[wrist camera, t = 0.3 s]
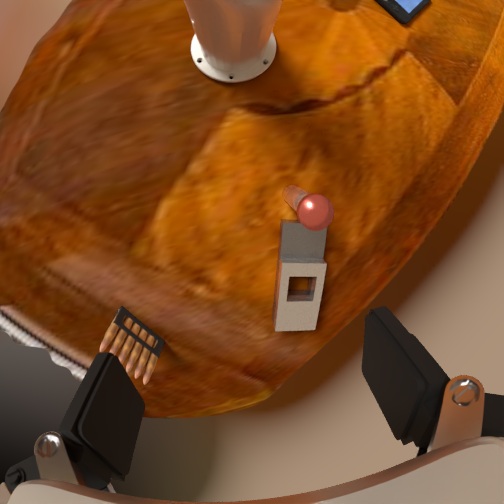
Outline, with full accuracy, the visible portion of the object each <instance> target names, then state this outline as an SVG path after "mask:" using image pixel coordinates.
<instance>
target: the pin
mask: <svg viewBox="0 0 504 504" xmlns="http://www.w3.org/2000/svg"><path fill="white" fill-rule="evenodd" d="M283 198H284V200H285V201H286V202H287V203H288V204H289V205H290V206H291V207H292V208H293V209H294V210H295V211H296V213H297V217H298V220H299V221H300V223H301V224H302V225H303V226H304V227H305V228H307V229H309V230H311V231H320V230H323V229H325V228H326V227H327V226H329V224H330V223H331V222H332V220H333V217H334V208H333V205H332V203H331V201H330V200H329V199H328V198H326V197H324V196H323V195H320V194H317V193H311V194H310V193H309V192H307V191H305V190H303V189H302V188H300V187H298V186H296V185H289V186H287V187H286V188H285V189H284V191H283Z"/></svg>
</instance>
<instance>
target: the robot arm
mask: <svg viewBox="0 0 504 504" xmlns="http://www.w3.org/2000/svg"><path fill="white" fill-rule="evenodd" d="M282 1H283V0H184V2H185V5H186V7H187V10H188V13H189V16H190V19H191V22H192V25H193V28H194V31H195V35H194V37H193V39H192V43H191V55H192V59H193V61H194V63H195V64H196V66H197V67H198V69H199V70H200V71H201V72H202V73H203V74H205V75H206V76H208V77H209V78H212V79H214V80H217V81H221V82H225V83H238V82H244V81H248V80H251V79H253V78H255V77H257V76H259V75H260V74H262V73H263V72H264V71H265V70H266V69H267V68H268V67H269V66H270V64H271V63H272V61H273V59H274V57H275V53H276V40H275V37H274V35H273V32H272V30H273V27H274V24H275V21H276V19H277V16H278V13H279V10H280V7H281V4H282ZM199 61H202V62H201V63H199ZM264 62H265V63H266V65H265V64H263V63H264ZM230 77H233V79H230ZM362 372H363V375H364V377H365V379H366V381H367V383H368V385H369V387H370V389H371V391H372V393H373V395H374V397H375V398H376V401H377V403H378V404H379V406H380V408H381V410H382V412H383V414H384V416H385V418H386V420H387V422H388V424H389V426H390V428H391V430H392V432H393V435H394V437H395V438H396V439H397V440H400V439H401V441H402V443H403V445H406V444H408V443H410V442H412V441H413V442H414V443H415V445H416V447H417V450H416V453H415V456H414V458H413V459H411V460H408V461H406V462H404V463H401V464H399V465H396V466H394V467H391V468H389V469H386V470H383V471H381V472H378V473H375V474H372V475H369V476H366V477H363V478H360V479H357V480H354V481H350V482H347V483H343V484H340V485H336V486H332V487H328V488H325V489H320V490H316V491H311V492H307V493H301V494H296V495H290V496H284V497H277V498H270V499H262V500H252V501H238V502H209V503H208V502H179V501H165V500H155V499H147V498H139V497H132V496H127V495H121V494H116V492H115V491H114V489H113V487H112V485H111V484H110V479H111V478H112V479H114V480H120V481H124V479H125V475H127V474H128V473H129V470H130V465H131V461H132V457H133V452H134V449H135V444H136V440H137V436H138V432H139V429H140V425H141V421H142V417H143V414H144V410H145V403H144V401H143V399H142V397H141V396H140V394H139V393H138V391H137V389H136V388H135V386H134V385H133V383H132V381H131V380H130V378H129V376H128V374H127V373H126V371H125V369H124V367H123V366H122V364H121V362H120V360H119V358H118V357H117V356H114V354H113V353H110V352H109V353H98V354H97V355H96V357H95V359H94V361H93V362H92V364H91V366H90V368H89V370H88V371H87V373H86V375H85V377H84V379H83V381H82V383H81V384H80V386H79V388H78V390H77V392H76V394H75V396H74V398H73V400H72V402H71V404H70V406H69V408H68V410H67V412H66V414H65V416H64V418H63V421H62V423H61V425H60V427H59V430H60V431H61V432H62V434H61V436H60V435H59V434H58V433H55V432H48V433H45V434H43V435H42V436H41V437H40V438H39V439H38V440H37V442H36V443H35V447H34V451H35V455H34V456H32V457H30V458H28V459H26V460H24V461H22V462H20V463H18V464H16V465H14V466H12V467H11V468H10V469H9V470H8V471H7V474H6V478H5V482H6V484H5V483H4V482H3V483H2V484H1V485H0V504H504V395H496V394H490V393H484V388H483V386H482V384H481V383H480V381H479V380H477V379H476V378H474V377H471V376H467V375H463V376H462V375H461V376H457V377H455V378H453V379H452V380H451V379H450V378H449V377H448V376H447V374H446V373H445V372H444V371H443V369H442V368H441V367H440V366H439V364H438V363H437V362H436V361H435V360H434V358H433V357H432V356H431V355H430V354H429V352H428V351H427V350H426V349H425V347H424V346H423V345H422V344H421V343H420V342H419V340H418V339H417V338H416V337H415V336H414V335H413V334H410V333H409V332H408V331H407V330H406V328H405V327H404V326H403V325H402V324H401V323H400V321H399V320H398V319H397V318H396V317H395V316H394V315H393V313H392V312H391V311H390V310H389V309H388V308H387V307H386V306H382V307H378V308H375V309H371V310H370V312H369V314H368V315H366V318H365V334H364V347H363V359H362Z"/></svg>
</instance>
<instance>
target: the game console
mask: <svg viewBox="0 0 504 504" xmlns="http://www.w3.org/2000/svg"><path fill="white" fill-rule="evenodd" d="M376 1H377V2H378V3H379V4H380V5H381V6H383V7H384V8H385V9H386V10H387V11H388V12H389V13H390V14H391V15H393V16H394V17H395V18H396V19H397V20H398V21H399V22H400V23H403V24H406V23H408V22H409V21H410V20H411V19H412V18H413V17H414V16H415V15H416V14H417V13H418V12H419V11H420V10H421V9H422V8H423V7H424V6H425V5H426V4H427V3H428V2H429V1H430V0H376Z"/></svg>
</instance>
